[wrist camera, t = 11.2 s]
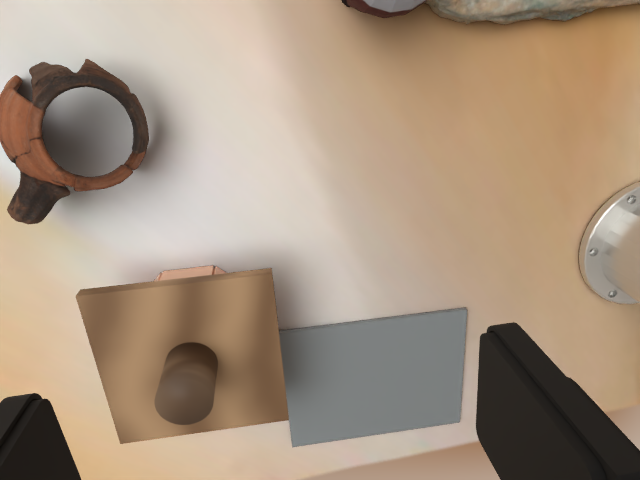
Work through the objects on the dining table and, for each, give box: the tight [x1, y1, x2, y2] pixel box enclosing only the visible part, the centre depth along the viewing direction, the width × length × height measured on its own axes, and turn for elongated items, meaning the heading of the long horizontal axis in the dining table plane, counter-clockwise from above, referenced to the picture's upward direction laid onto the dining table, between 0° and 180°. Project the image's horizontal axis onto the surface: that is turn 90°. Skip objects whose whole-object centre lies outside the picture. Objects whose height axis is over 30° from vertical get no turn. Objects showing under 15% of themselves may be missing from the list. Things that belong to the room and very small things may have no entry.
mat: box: [279, 308, 467, 447], centre depth 47 cm, size 18×14×1 cm
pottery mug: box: [0, 59, 149, 224], centre depth 33 cm, size 12×10×8 cm
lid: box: [76, 268, 289, 444], centre depth 36 cm, size 14×14×5 cm
